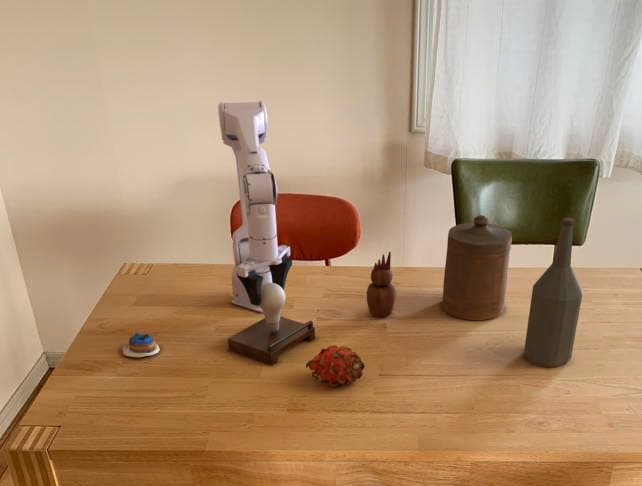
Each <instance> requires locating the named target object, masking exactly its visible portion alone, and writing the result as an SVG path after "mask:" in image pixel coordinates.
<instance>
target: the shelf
mask: <svg viewBox="0 0 642 486" xmlns="http://www.w3.org/2000/svg"><path fill="white" fill-rule="evenodd" d="M314 340H316V327H315V326H314V322H313V320H309V321H307V322H306V323H303V322H299V321H296V320H293V319H290V318H287V317H284V316H281V315H280V321H279V330H277V331H276V332H271V331H269V330H268V329H267V322H266V320H265V317H264V318H261V320H259V321H256V322H255V323H253V324H251V325H249V326H248V327H246V328H244V329H242V330H240V331H238V332H237V333H235V334H233V335H231V336H230V337H227V347H228V351H230V352H233V353H236V354H238V355H241V356H244V357H247V358H249V359H253V360H255V361H258V362H260V363H264V364H266V365H269V366H274V365H275V364H277V363H278V355H280V354H282V353H284V352H285V351H287V350H288V349H290V348H292V347H293V346H295V345H296V344H298V343H300V342H301V341H307V342H312V341H314Z"/></svg>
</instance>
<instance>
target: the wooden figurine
mask: <svg viewBox="0 0 642 486" xmlns="http://www.w3.org/2000/svg"><path fill="white" fill-rule="evenodd" d="M385 257H386V256H385V254H384V253H382V257H381V259H380V258H378V260H377V262H374V266H373V269H372V270H371V273H370V280H371V283H370V284H369V285H368V286H367V289H366V304H367V308H368V310H369V312H370V314H371V315H373V316H374V317H378V318H379V317H380V318H385V317H389V316H390V315H392V313H393V311H394V308H395V304H396V298H397V290H396V289H397V288H396V287H395V285H394V284H393V283H392V281H393V271H392V270H391V261H392V258H391V257H392V252H391V251H389V252H388V255H387V257H386V259H385Z"/></svg>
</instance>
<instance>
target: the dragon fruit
mask: <svg viewBox="0 0 642 486" xmlns="http://www.w3.org/2000/svg"><path fill="white" fill-rule="evenodd" d="M307 368H309V370H310V371H312V372H311V376H312V377H314V378H315V379H316V380H318V382H319V383H320V382H321V381H327V382H329V385H330V387H332V388H334V387H338V386H339V384H342V386H346V385H348V384H350V383H351V382H352V383H355V382H357V380H359V379H361V378H362V377H363V375H364V373H363V371H364V369H365V364H364V361H363V360H362V358H361V356H360V355H359V354H358V353H357V352H356V351H353V350H352V349H351V348H350V347H348V346H347V345H341V346H340V347H339V346H338V345H328V346H327V347H326V348H321V349H320V351H319V353H318V354H317V355H314V356H313V357H312V358H311V359H309V360H308V361H307V363H306V364H305V369H307Z"/></svg>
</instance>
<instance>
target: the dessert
mask: <svg viewBox="0 0 642 486" xmlns="http://www.w3.org/2000/svg"><path fill="white" fill-rule="evenodd" d="M121 350H122V355H124V357H125V356H126V357H132V358H143V357H148V356H153V355H155V354H158V353H159V351H160V347H159V345H158V343H157V342H155V340H154V337H153V336H151V335H150V334H149V333H139V332H135V333H134V335H132V336H131V337H130V338H129V340H128V343H126V344H124V346H123V347H122V349H121Z"/></svg>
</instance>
